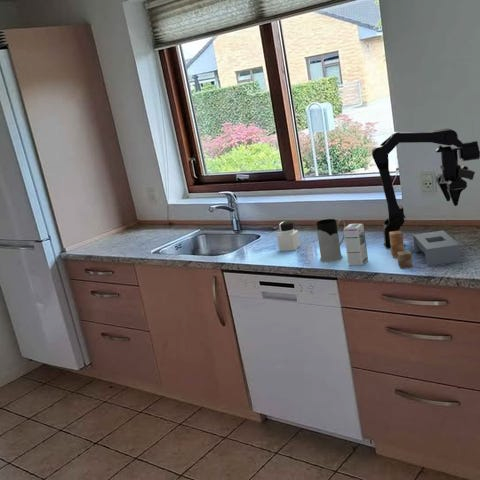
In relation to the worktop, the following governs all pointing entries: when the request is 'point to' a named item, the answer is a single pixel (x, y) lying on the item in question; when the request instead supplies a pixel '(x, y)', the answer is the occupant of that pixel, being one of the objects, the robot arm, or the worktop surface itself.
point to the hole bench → (437, 247)
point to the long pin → (396, 242)
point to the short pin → (404, 259)
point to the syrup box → (355, 244)
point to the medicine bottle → (288, 237)
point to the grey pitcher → (329, 240)
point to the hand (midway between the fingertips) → (452, 203)
